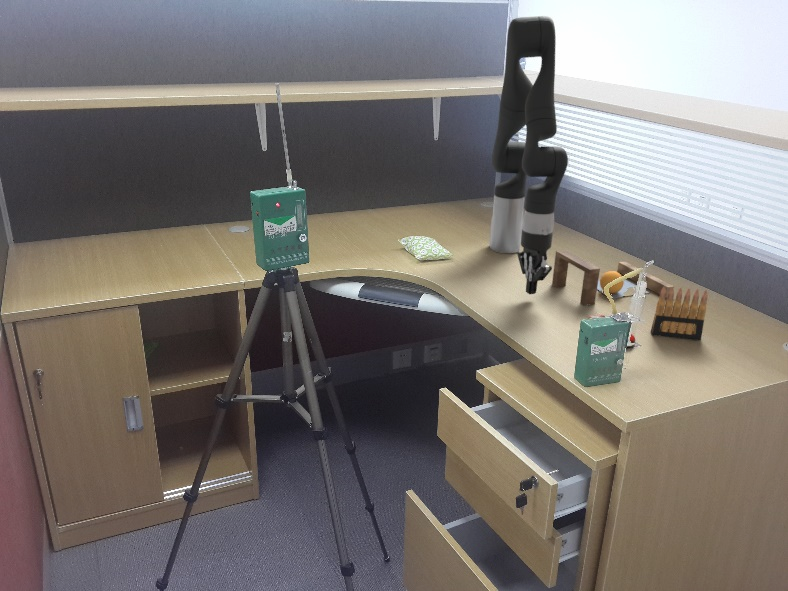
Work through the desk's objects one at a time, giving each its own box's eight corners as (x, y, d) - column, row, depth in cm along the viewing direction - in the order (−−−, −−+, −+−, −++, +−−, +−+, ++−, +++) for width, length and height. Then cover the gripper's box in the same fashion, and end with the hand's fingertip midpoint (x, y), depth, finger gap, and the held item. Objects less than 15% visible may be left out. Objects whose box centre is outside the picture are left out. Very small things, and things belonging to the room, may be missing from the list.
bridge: (584, 305, 168) (589, 269, 164) (551, 284, 181) (555, 250, 177) (594, 304, 169) (600, 268, 165) (561, 283, 182) (565, 249, 178)
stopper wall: (617, 272, 190) (618, 262, 189) (622, 271, 191) (624, 261, 190) (666, 297, 173) (668, 287, 172) (672, 296, 174) (674, 286, 173)
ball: (605, 263, 175) (621, 272, 178) (591, 281, 177) (606, 290, 179) (616, 273, 170) (632, 283, 172) (602, 292, 172) (617, 301, 174)
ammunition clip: (651, 335, 152) (660, 287, 148) (650, 332, 154) (659, 284, 149) (700, 340, 150) (711, 292, 146) (699, 337, 152) (709, 289, 147)
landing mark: (584, 282, 182) (584, 281, 182) (620, 277, 186) (620, 276, 186) (612, 298, 172) (612, 298, 172) (649, 293, 176) (649, 292, 176)
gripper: (510, 222, 167) (505, 285, 174) (538, 237, 156) (531, 304, 163) (536, 219, 170) (529, 282, 177) (565, 234, 158) (557, 301, 165)
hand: (530, 293), depth 170 cm, fingers closed
